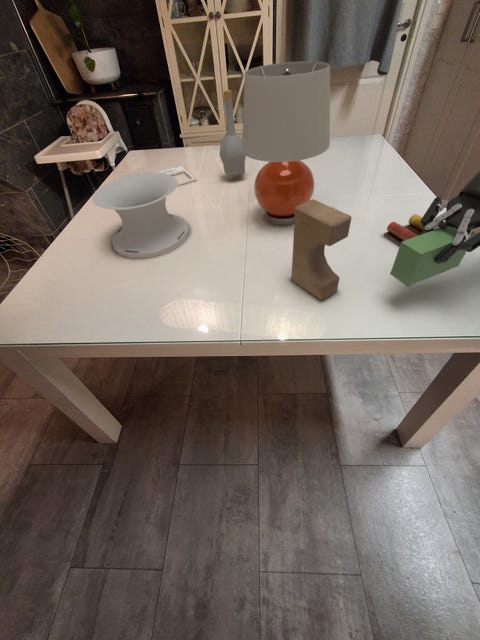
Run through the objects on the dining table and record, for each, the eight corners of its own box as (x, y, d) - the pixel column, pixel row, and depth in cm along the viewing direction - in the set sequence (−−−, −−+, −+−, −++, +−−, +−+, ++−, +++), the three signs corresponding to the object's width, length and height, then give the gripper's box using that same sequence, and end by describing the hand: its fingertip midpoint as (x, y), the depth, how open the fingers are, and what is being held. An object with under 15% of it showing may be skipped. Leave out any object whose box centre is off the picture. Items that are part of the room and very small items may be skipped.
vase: (121, 222, 107) (103, 177, 96) (189, 213, 107) (179, 168, 96) (106, 262, 90) (81, 214, 79) (187, 252, 90) (175, 203, 79)
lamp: (286, 193, 112) (290, 58, 84) (336, 216, 98) (362, 61, 69) (232, 216, 103) (217, 73, 75) (279, 245, 89) (282, 81, 61)
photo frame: (181, 165, 138) (194, 177, 127) (181, 168, 139) (195, 180, 128) (151, 173, 135) (162, 186, 123) (151, 176, 136) (162, 189, 124)
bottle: (235, 171, 131) (227, 86, 109) (254, 177, 125) (249, 88, 103) (216, 180, 126) (204, 93, 104) (235, 186, 120) (226, 95, 98)
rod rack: (449, 243, 82) (455, 230, 80) (415, 256, 80) (420, 243, 77) (415, 224, 90) (419, 212, 87) (383, 236, 88) (387, 223, 85)
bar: (458, 266, 64) (476, 233, 59) (407, 286, 61) (421, 254, 56) (439, 254, 68) (454, 222, 62) (390, 273, 65) (401, 241, 59)
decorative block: (337, 292, 73) (353, 215, 58) (320, 302, 71) (332, 226, 56) (306, 271, 80) (313, 197, 65) (290, 279, 78) (293, 206, 63)
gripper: (460, 157, 57) (392, 231, 63) (539, 182, 48) (451, 266, 54) (468, 179, 62) (404, 245, 68) (541, 205, 53) (460, 280, 59)
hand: (425, 254), depth 61 cm, fingers closed on bar, 5 cm apart
